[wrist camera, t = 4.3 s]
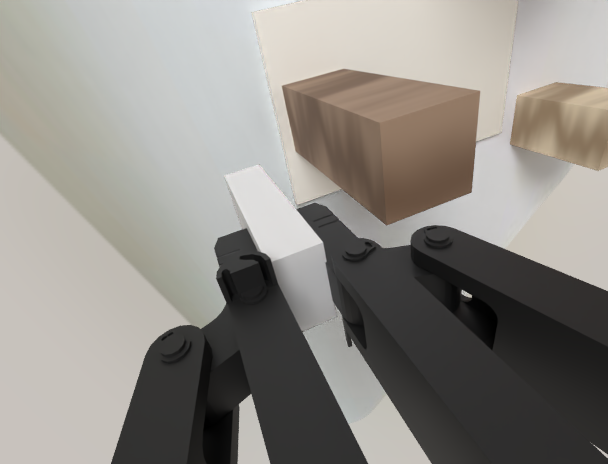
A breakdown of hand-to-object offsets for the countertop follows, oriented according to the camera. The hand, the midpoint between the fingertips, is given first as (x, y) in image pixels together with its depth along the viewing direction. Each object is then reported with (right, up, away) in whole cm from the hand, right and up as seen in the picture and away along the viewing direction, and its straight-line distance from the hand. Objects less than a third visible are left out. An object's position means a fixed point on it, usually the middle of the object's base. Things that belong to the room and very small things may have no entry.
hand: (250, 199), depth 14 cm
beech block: (+23, +10, +17) cm, 31 cm away
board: (+10, +10, +11) cm, 18 cm away
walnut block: (+3, +7, +10) cm, 12 cm away
